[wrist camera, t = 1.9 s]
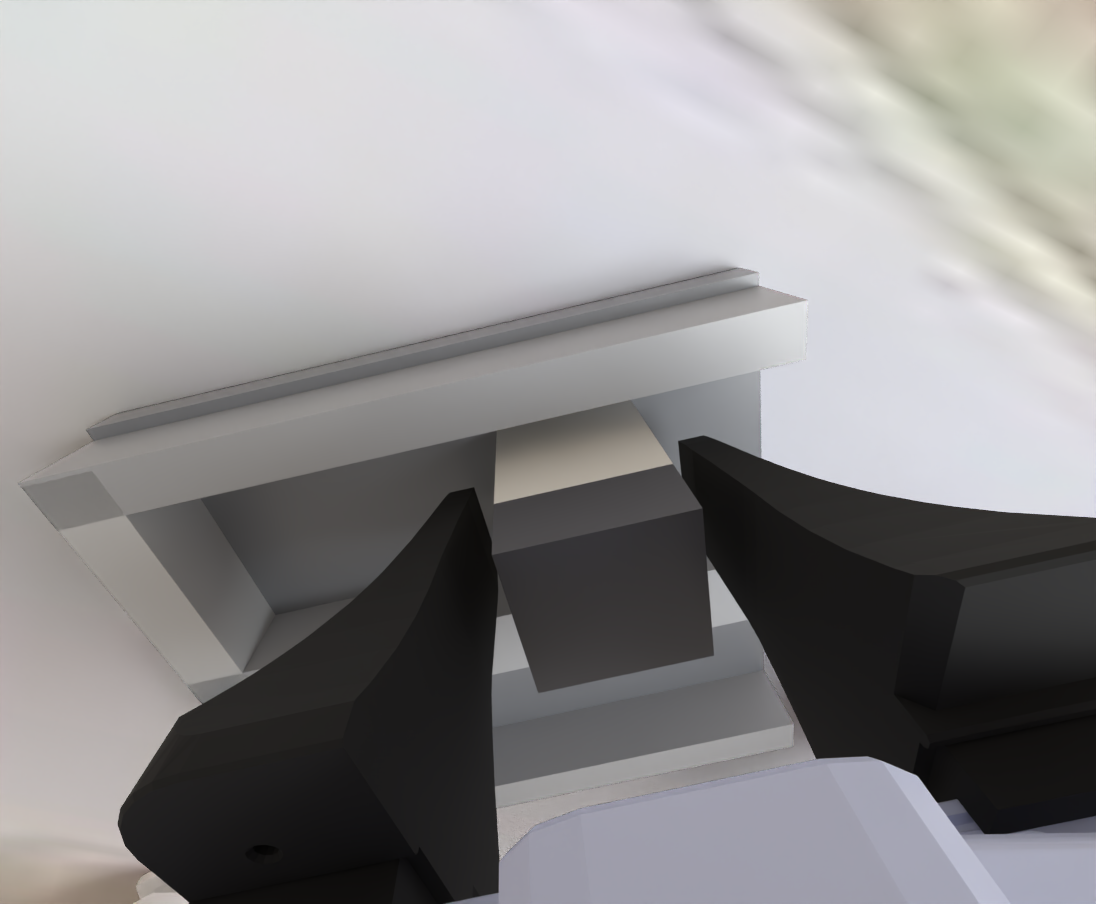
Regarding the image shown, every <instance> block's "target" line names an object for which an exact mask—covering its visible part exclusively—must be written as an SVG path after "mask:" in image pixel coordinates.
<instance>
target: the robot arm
mask: <svg viewBox="0 0 1096 904" xmlns="http://www.w3.org/2000/svg"><path fill="white" fill-rule="evenodd" d="M678 446H679V456H680V466H681V476H682V478H683V480H684V481H685V483H686V484H687V486H688V487H689V489H690V490H691V492H692V493H693V495H694V496H695V498H696V499H697V501H698V502H699V504H700V505H701V507H702V508H703V520H704V533H705V545H706V555H707V557H708V559H709V560H710V562H711V563H712V565H713V567H714V568H715V570H716V571H717V573H718V574H719V576H720V577H721V579H722V581H723V582H724V584H725V585H726V587H727V588H728V590H729V591H730V593H731V595H732V596H733V598H734V599H735V601H736V602H737V604H738V605H739V607H740V609H741V610H742V612H743V613H744V615H745V616H746V618H747V619H748V621H749V623H750V625H751V626H752V628H753V630H754V631H755V633H756V635H757V637H758V639H759V640H760V642H761V644H762V646H763V648H764V650H765V652H766V654H767V656H768V658H769V660H770V662H771V664H772V666H773V668H774V670H775V672H776V674H777V676H778V678H779V680H780V682H781V685H782V687H783V689H784V691H785V693H786V695H787V697H788V699H789V701H790V703H791V705H792V708H793V710H794V712H795V714H796V716H797V718H798V720H799V722H800V724H801V726H802V729H803V731H804V733H805V735H806V737H807V740H808V742H809V744H810V746H811V748H812V751H813V753H814V755H815V757H816V760H811V761H806V762H801V763H796V764H792V765H787V766H782V767H777V768H772V769H768V770H763V771H758V772H753V773H748V774H743V775H739V776H734V777H729V778H724V779H719V780H715V781H710V782H705V783H700V784H695V785H691V786H686V787H681V788H676V789H671V790H666V791H662V792H657V793H652V794H647V795H642V796H638V797H633V798H628V799H623V800H618V801H614V802H609V803H604V804H599V805H594V806H589V807H585V808H580V809H578V810H575V811H572V812H570V813H567V814H564V815H561V816H559V817H556V818H553V819H551V820H548V821H545V822H543V823H540V824H537V825H535V826H534V827H533V828H532V829H531V830H530V831H529V832H528V833H527V834H526V835H525V836H524V837H523V838H522V839H521V840H519V841H518V842H517V843H516V844H515V845H514V846H513V847H512V848H511V849H510V850H509V851H508V852H507V853H506V855H505V856H504V857H503V858H502V859H501V860H500V861H499V848H498V831H497V814H496V797H495V778H494V755H493V728H492V671H493V658H494V645H495V632H496V619H497V605H498V572H497V569H496V566H495V563H494V560H493V558H492V540H491V537H490V534H489V531H488V528H487V525H486V522H485V519H484V516H483V513H482V510H481V507H480V504H479V500H478V497H477V494H476V491H475V488H474V487H472V488H468V489H463V490H459V491H455V492H450V493H449V494H448V495H447V496H446V497H445V498H444V499H443V501H442V502H441V503H440V504H439V506H438V507H437V508H436V509H435V511H434V512H433V513H432V515H431V516H430V517H429V518H428V520H427V521H426V522H425V523H424V525H423V526H422V527H421V528H420V530H419V531H418V532H417V533H416V535H415V536H414V537H413V538H412V540H411V541H410V542H409V543H408V544H407V545H406V546H405V547H404V549H403V550H402V551H401V552H400V553H399V554H398V555H397V556H396V558H395V559H394V560H393V561H392V562H391V563H390V564H389V565H388V566H387V568H386V569H385V570H384V571H383V572H382V573H381V574H380V575H379V576H378V577H377V578H376V579H375V580H374V581H373V582H372V583H371V584H370V585H369V586H368V587H366V588H365V589H364V590H363V591H362V592H361V593H360V594H359V595H358V596H357V597H356V598H355V599H353V600H352V601H351V602H350V603H349V604H348V605H347V606H345V607H344V608H343V609H342V610H340V611H339V612H338V613H337V614H335V615H334V616H333V617H332V618H330V619H329V620H328V621H327V622H325V623H324V624H323V625H322V626H320V627H319V628H318V629H317V630H315V631H314V632H313V633H312V634H310V635H309V636H308V637H306V638H305V639H304V640H302V641H301V642H299V643H298V644H297V645H295V646H294V647H292V648H291V649H290V650H288V651H287V652H285V653H284V654H282V655H281V656H279V657H278V658H276V659H275V660H273V661H272V662H270V663H269V664H267V665H266V666H264V667H263V668H261V669H260V670H258V671H257V672H255V673H254V674H252V675H250V676H249V677H247V678H246V679H244V680H242V681H241V682H239V683H237V684H236V685H234V686H232V687H231V688H229V689H227V690H225V691H224V692H222V693H220V694H219V695H217V696H215V697H214V698H212V699H210V700H208V701H207V702H205V703H203V704H202V705H200V706H198V707H197V708H195V709H193V710H191V711H189V712H188V713H186V714H184V715H182V716H180V717H179V718H178V720H177V721H176V723H175V725H174V726H173V728H172V729H171V731H170V732H169V734H168V736H167V737H166V739H165V740H164V742H163V743H162V745H161V746H160V748H159V750H158V751H157V753H156V754H155V756H154V757H153V759H152V760H151V762H150V763H149V765H148V767H147V768H146V770H145V771H144V773H143V774H142V776H141V777H140V779H139V781H138V782H137V784H136V785H135V787H134V788H133V790H132V791H131V793H130V794H129V796H128V798H127V799H126V801H125V802H124V804H123V805H122V807H121V809H120V814H119V820H118V827H119V830H120V833H121V835H122V838H123V841H124V844H125V846H126V847H127V849H128V850H129V851H130V852H131V853H132V854H133V855H134V856H135V857H136V859H137V860H138V861H140V862H141V863H142V864H143V865H145V866H146V867H147V868H148V869H149V870H151V871H152V872H153V873H154V874H155V875H157V876H158V877H159V878H160V879H161V880H163V881H164V882H165V883H166V884H167V885H169V886H170V887H171V888H172V889H173V890H175V891H176V892H177V893H178V894H179V895H181V896H182V897H183V898H184V899H185V900H187V901H188V902H189V904H1096V518H1090V517H1073V516H1057V515H1040V514H1024V513H1008V512H997V511H988V510H979V509H970V508H961V507H953V506H946V505H939V504H932V503H925V502H919V501H913V500H908V499H902V498H897V497H891V496H886V495H881V494H876V493H872V492H867V491H863V490H859V489H855V488H851V487H847V486H843V485H839V484H835V483H831V482H828V481H825V480H821V479H818V478H815V477H812V476H809V475H806V474H803V473H800V472H797V471H794V470H791V469H788V468H785V467H782V466H780V465H777V464H774V463H772V462H769V461H767V460H764V459H762V458H759V457H757V456H754V455H752V454H749V453H747V452H745V451H742V450H740V449H737V448H735V447H733V446H730V445H728V444H726V443H723V442H721V441H718V440H716V439H713V438H710V437H708V436H704V435H703V436H698V437H694V438H689V439H685V440H680V441H678Z"/></svg>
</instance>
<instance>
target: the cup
mask: <svg viewBox="0 0 1096 904" xmlns="http://www.w3.org/2000/svg"><path fill="white" fill-rule="evenodd" d="M136 889H137V892H138V895H139V898H140V900H138V901H136V902H135V903H133V904H189V902H188V901H187V900H185V899H184V898H183V897H182V896H181V895H179V894H178V893H177V892H176V891H175V890H173V889H172V888H171V887H170V886H169V885H167V884H166V883H165V882H164V881H163V880H161V879H160V878H159V877H158V876H157V875H155V874H154V873H153V872H152V871H150V872H148V873H147V874H145V875H143V876H141V878H140V880H139V881H138V883H137V885H136Z"/></svg>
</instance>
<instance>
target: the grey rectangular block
mask: <svg viewBox="0 0 1096 904" xmlns="http://www.w3.org/2000/svg"><path fill="white" fill-rule="evenodd" d="M492 558H493V560H494V563H495V566H496V569H497V572H498V575H499V578H500V581H501V584H502V587H503V590H504V593H505V596H506V599H507V602H508V605H509V608H510V611H511V614H512V617H513V620H514V623H515V626H516V629H517V632H518V635H519V638H520V641H521V643H522V646H523V649H524V652H525V655H526V658H527V661H528V664H529V667H530V670H531V673H532V676H533V679H534V682H535V685H536V688H537V691H538V693H542V692H547V691H552V690H556V689H561V688H566V687H570V686H575V685H580V684H584V683H589V682H594V681H598V680H603V679H608V678H612V677H617V676H622V675H626V674H631V673H636V672H640V671H645V670H650V669H654V668H659V667H664V666H668V665H673V664H678V663H682V662H687V661H692V660H696V659H701V658H706V657H710V656H714V646H713V634H712V621H711V608H710V596H709V583H708V571H707V558H706V545H705V533H704V520H703V508H702V507H701V505H700V504H699V502H698V501H697V499H696V498H695V496H694V495H693V493H692V492H691V490H690V489H689V487H688V486H687V484H686V483H685V481H684V480H683V478H682V477H681V475H680V474H679V472H678V471H677V469H676V468H675V466H674V465H673V463H672V462H671V460H670V459H669V457H668V456H667V454H666V452H665V451H664V449H663V448H662V446H661V445H660V443H659V442H658V440H657V439H656V437H655V436H654V434H653V433H652V431H651V430H650V428H649V427H648V425H647V424H646V422H645V421H644V419H643V418H642V416H641V415H640V413H639V412H638V410H637V409H636V407H635V406H634V404H633V403H632V401H631V400H628V401H624V402H619V403H615V404H610V405H606V406H602V407H597V408H593V409H589V410H584V411H580V412H575V413H571V414H567V415H562V416H558V417H554V418H549V419H545V420H540V421H536V422H532V423H527V424H523V425H519V426H514V427H510V428H505V429H501V430H497V439H496V463H495V487H494V511H493V535H492Z"/></svg>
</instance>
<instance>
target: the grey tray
mask: <svg viewBox="0 0 1096 904" xmlns="http://www.w3.org/2000/svg"><path fill="white" fill-rule="evenodd" d="M807 314H808V300H806V299H802V298H799V297H796V296H792V295H789V294H785V293H782V292H778V291H775V290H771V289H768V288H765V287H761V286H759V272H755V271H751V270H747V269H743V268H737V269H733V270H728V271H724V272H720V273H716V274H711V275H707V276H703V277H699V278H694V279H690V280H686V281H682V282H677V283H673V284H669V285H664V286H660V287H656V288H652V289H647V290H643V291H639V292H635V293H630V294H626V295H622V296H617V297H613V298H609V299H605V300H600V301H596V302H592V303H588V304H583V305H579V306H575V307H570V308H566V309H562V310H558V311H553V312H549V313H545V314H541V315H536V316H532V317H528V318H523V319H519V320H515V321H511V322H506V323H502V324H498V325H494V326H489V327H485V328H481V329H476V330H472V331H468V332H464V333H459V334H455V335H451V336H447V337H442V338H438V339H434V340H429V341H425V342H421V343H417V344H412V345H408V346H404V347H400V348H395V349H391V350H387V351H383V352H378V353H374V354H370V355H365V356H361V357H357V358H353V359H348V360H344V361H340V362H336V363H331V364H327V365H323V366H318V367H314V368H310V369H306V370H301V371H297V372H293V373H289V374H284V375H280V376H276V377H271V378H267V379H263V380H259V381H254V382H250V383H246V384H242V385H237V386H233V387H229V388H224V389H220V390H216V391H212V392H207V393H203V394H199V395H195V396H190V397H186V398H182V399H177V400H173V401H169V402H165V403H160V404H156V405H152V406H148V407H143V408H139V409H135V410H130V411H126V412H122V413H118V414H115V415H113V416H111V417H109V418H107V419H105V420H104V421H102V422H100V423H98V424H96V425H94V426H92V427H90V428H88V429H86V431H87V432H88V433H89V435H90V436H91V438H92V439H93V440H94V441H93V442H91V443H89V444H87V445H86V446H84V447H82V448H80V449H78V450H77V451H75V452H73V453H71V454H69V455H68V456H66V457H64V458H62V459H60V460H59V461H57V462H55V463H53V464H51V465H50V466H48V467H46V468H44V469H42V470H41V471H39V472H37V473H35V474H33V475H31V476H30V477H28V478H26V479H24V480H22V481H21V482H19V483H18V484H19V485H20V486H21V488H22V489H23V490H24V491H25V492H26V494H27V495H28V496H29V497H30V498H31V500H32V501H33V502H34V503H35V504H36V506H37V507H38V508H39V509H40V510H41V512H42V513H43V514H44V515H45V516H46V518H47V519H48V520H49V521H50V522H51V524H52V525H53V526H54V527H55V528H56V530H57V531H58V532H59V533H60V534H61V536H62V537H63V538H64V539H65V540H66V542H67V543H68V544H69V545H70V546H71V548H72V549H73V550H74V551H75V552H76V554H77V555H78V556H79V557H80V558H81V560H82V561H83V562H84V563H85V564H86V566H87V567H88V568H89V569H90V570H91V572H92V573H93V574H94V575H95V576H96V577H97V579H98V580H99V581H100V582H101V583H102V585H103V586H104V587H105V588H106V589H107V591H108V592H109V593H110V594H111V595H112V597H113V598H114V599H115V600H116V601H117V603H118V604H119V605H120V606H121V607H122V609H123V610H124V611H125V612H126V613H127V615H128V616H129V617H130V618H131V619H132V621H133V622H134V623H135V624H136V625H137V627H138V628H139V629H140V630H141V631H142V633H143V634H144V635H145V636H146V637H147V639H148V640H149V641H150V642H151V643H152V645H153V646H154V647H155V648H156V649H157V651H158V652H159V653H160V654H161V655H162V657H163V658H164V659H165V660H166V661H167V663H168V664H169V665H170V666H171V667H172V668H173V670H174V671H175V672H176V673H177V674H178V676H179V677H180V678H181V679H182V680H183V682H184V683H185V684H186V685H187V686H188V688H189V689H190V690H191V691H192V692H193V694H194V695H195V696H196V697H197V698H198V700H199V701H200V702H201V703H202V704H203V703H205V702H207V701H208V700H210V699H212V698H214V697H215V696H217V695H219V694H220V693H222V692H224V691H225V690H227V689H229V688H231V687H232V686H234V685H236V684H237V683H239V682H241V681H242V680H244V679H246V678H247V677H249V676H250V675H252V674H254V673H255V672H257V671H258V670H260V669H261V668H263V667H264V666H266V665H267V664H269V663H270V662H272V661H273V660H275V659H276V658H278V657H279V656H281V655H282V654H284V653H285V652H287V651H288V650H290V649H291V648H292V647H294V646H295V645H297V644H298V643H299V642H301V641H302V640H304V639H305V638H306V637H308V636H309V635H310V634H312V633H313V632H314V631H315V630H317V629H318V628H319V627H320V626H322V625H323V624H324V623H325V622H327V621H328V620H329V619H330V618H332V617H333V616H334V615H335V614H337V613H338V612H339V611H340V610H342V609H343V608H344V607H345V606H347V605H348V604H349V603H350V602H351V601H352V600H353V599H355V598H356V597H357V596H358V595H359V594H360V593H361V592H362V591H363V590H364V589H365V588H366V587H368V586H369V585H370V584H371V583H372V582H373V581H374V580H375V579H376V578H377V577H378V576H379V575H380V574H381V573H382V572H383V571H384V570H385V569H386V568H387V566H388V565H389V564H390V563H391V562H392V561H393V560H394V559H395V558H396V556H397V555H398V554H399V553H400V552H401V551H402V550H403V549H404V547H405V546H406V545H407V544H408V543H409V542H410V541H411V540H412V538H413V537H414V536H415V535H416V533H417V532H418V531H419V530H420V528H421V527H422V526H423V525H424V523H425V522H426V521H427V520H428V518H429V517H430V516H431V515H432V513H433V512H434V511H435V509H436V508H437V507H438V506H439V504H440V503H441V502H442V501H443V499H444V498H445V497H446V496H447V495H448V494H449V493H450V492H455V491H459V490H463V489H468V488H472V487H474V488H475V491H476V494H477V497H478V500H479V504H480V507H481V510H482V513H483V516H484V519H485V522H486V525H487V528H488V531H489V534H490V537H491V540H492V535H493V511H494V487H495V463H496V439H497V430H501V429H505V428H510V427H514V426H519V425H523V424H527V423H532V422H536V421H540V420H545V419H549V418H554V417H558V416H562V415H567V414H571V413H575V412H580V411H584V410H589V409H593V408H597V407H602V406H606V405H610V404H615V403H619V402H624V401H628V400H631V401H632V403H633V404H634V406H635V407H636V409H637V410H638V412H639V413H640V415H641V416H642V418H643V419H644V421H645V422H646V424H647V425H648V427H649V428H650V430H651V431H652V433H653V434H654V436H655V437H656V439H657V440H658V442H659V443H660V445H661V446H662V448H663V449H664V451H665V452H666V454H667V456H668V457H669V459H670V460H671V462H672V463H673V465H674V466H675V468H676V469H677V471H678V472H679V474H680V475H681V466H680V456H679V446H678V441H680V440H685V439H689V438H694V437H698V436H703V435H704V436H708V437H710V438H713V439H716V440H718V441H721V442H723V443H726V444H728V445H730V446H733V447H735V448H737V449H740V450H742V451H745V452H747V453H749V454H752V455H754V456H757V457H759V458H761V399H760V370H764V369H768V368H772V367H777V366H781V365H785V364H790V363H794V362H799V361H803V360H806V345H807ZM681 477H682V476H681ZM706 558H707V571H708V583H709V596H710V608H711V621H712V634H713V646H714V656H710V657H706V658H701V659H696V660H692V661H687V662H682V663H678V664H673V665H668V666H664V667H659V668H654V669H650V670H645V671H640V672H636V673H631V674H626V675H622V676H617V677H612V678H608V679H603V680H598V681H594V682H589V683H584V684H580V685H575V686H570V687H566V688H561V689H556V690H552V691H547V692H542V693H538V691H537V688H536V685H535V682H534V679H533V676H532V673H531V670H530V667H529V664H528V661H527V658H526V655H525V652H524V649H523V646H522V643H521V641H520V638H519V635H518V632H517V629H516V626H515V623H514V620H513V617H512V614H511V611H510V608H509V605H508V602H507V599H506V596H505V593H504V590H503V587H502V584H501V581H500V578H499V575H498V605H497V619H496V632H495V645H494V658H493V671H492V728H493V755H494V778H495V797H496V809H497V808H501V807H506V806H511V805H516V804H521V803H525V802H530V801H535V800H540V799H544V798H549V797H554V796H559V795H564V794H568V793H573V792H578V791H583V790H588V789H592V788H597V787H602V786H607V785H612V784H616V783H621V782H626V781H631V780H636V779H640V778H645V777H650V776H655V775H659V774H664V773H669V772H674V771H679V770H683V769H688V768H693V767H698V766H703V765H707V764H712V763H717V762H722V761H727V760H731V759H736V758H741V757H746V756H751V755H755V754H760V753H765V752H770V751H774V750H779V749H784V748H789V747H793V740H794V723H793V721H792V719H791V718H790V716H789V714H788V712H787V711H786V709H785V707H784V705H783V703H782V702H781V700H780V698H779V696H778V695H777V693H776V691H775V689H774V687H773V686H772V684H771V682H770V680H769V679H768V677H767V675H766V673H765V671H764V652H763V646H762V644H761V642H760V640H759V639H758V637H757V635H756V633H755V631H754V630H753V628H752V626H751V625H750V623H749V621H748V619H747V618H746V616H745V615H744V613H743V612H742V610H741V609H740V607H739V605H738V604H737V602H736V601H735V599H734V598H733V596H732V595H731V593H730V591H729V590H728V588H727V587H726V585H725V584H724V582H723V581H722V579H721V577H720V576H719V574H718V573H717V571H716V570H715V568H714V567H713V565H712V563H711V562H710V560H709V559H708V557H707V555H706Z"/></svg>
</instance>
